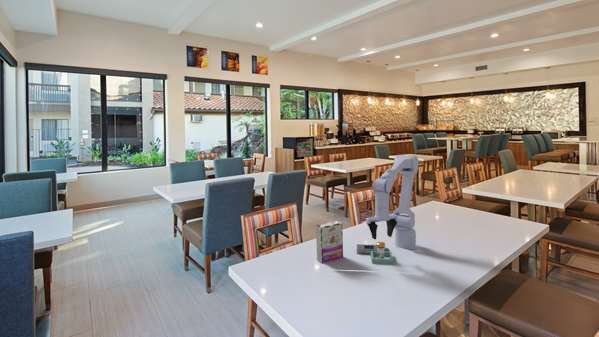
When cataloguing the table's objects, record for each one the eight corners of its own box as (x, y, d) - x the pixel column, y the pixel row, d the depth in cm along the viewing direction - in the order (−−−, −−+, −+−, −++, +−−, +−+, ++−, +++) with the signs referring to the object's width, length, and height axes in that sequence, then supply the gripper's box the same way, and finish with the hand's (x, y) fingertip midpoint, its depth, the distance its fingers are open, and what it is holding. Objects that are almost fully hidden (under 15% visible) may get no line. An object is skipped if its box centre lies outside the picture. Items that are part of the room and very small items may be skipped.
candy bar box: (337, 255, 148) (336, 220, 146) (343, 258, 143) (343, 222, 141) (316, 260, 143) (315, 224, 141) (322, 264, 138) (321, 227, 136)
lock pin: (382, 256, 143) (381, 241, 142) (386, 259, 140) (386, 244, 139) (375, 258, 142) (374, 242, 141) (379, 261, 139) (379, 245, 138)
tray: (391, 256, 144) (391, 251, 144) (393, 265, 135) (393, 259, 135) (370, 255, 146) (370, 250, 145) (371, 264, 137) (371, 258, 137)
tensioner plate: (389, 250, 152) (389, 245, 151) (390, 256, 145) (391, 250, 144) (356, 249, 154) (356, 244, 154) (356, 255, 147) (356, 249, 147)
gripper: (391, 203, 144) (390, 232, 145) (362, 206, 139) (362, 236, 141) (400, 206, 137) (400, 237, 139) (370, 210, 132) (370, 242, 134)
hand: (381, 237), depth 139 cm, fingers open, 7 cm apart
